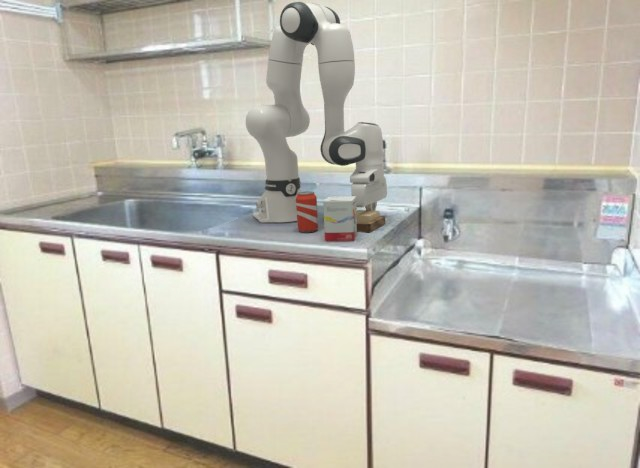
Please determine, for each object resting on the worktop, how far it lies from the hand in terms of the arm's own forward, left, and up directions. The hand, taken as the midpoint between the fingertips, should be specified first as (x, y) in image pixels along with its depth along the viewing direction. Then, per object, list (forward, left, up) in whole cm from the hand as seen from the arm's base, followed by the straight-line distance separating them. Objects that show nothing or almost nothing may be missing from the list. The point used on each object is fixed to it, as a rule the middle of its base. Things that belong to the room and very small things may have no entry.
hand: (371, 216), depth 163 cm
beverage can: (-3, -22, -2) cm, 22 cm away
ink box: (+11, -19, -2) cm, 22 cm away
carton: (+3, -5, -2) cm, 6 cm away
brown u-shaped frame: (+3, -7, -2) cm, 8 cm away
